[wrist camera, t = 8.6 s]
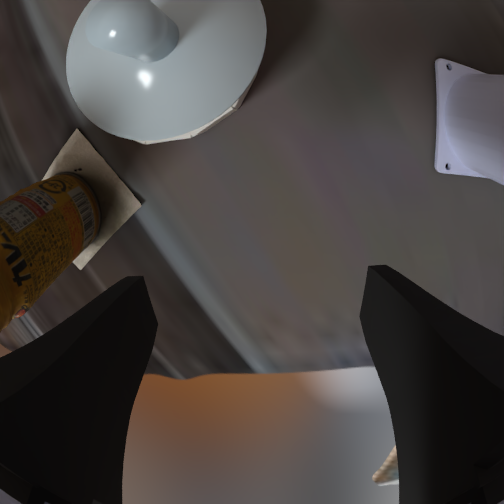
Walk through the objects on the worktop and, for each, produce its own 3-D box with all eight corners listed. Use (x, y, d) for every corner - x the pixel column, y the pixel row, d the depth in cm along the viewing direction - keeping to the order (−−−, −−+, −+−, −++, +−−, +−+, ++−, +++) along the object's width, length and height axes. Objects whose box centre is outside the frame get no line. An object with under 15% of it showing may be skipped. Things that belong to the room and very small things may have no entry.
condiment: (27, 205, 18) (-76, 284, 7) (78, 127, 15) (-69, 179, 5) (82, 268, 21) (0, 377, 10) (143, 203, 18) (34, 324, 7)
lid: (266, -44, 8) (268, -95, 4) (265, 135, 13) (268, 148, 8) (81, -11, 8) (31, -33, 4) (77, 149, 13) (19, 171, 9)
